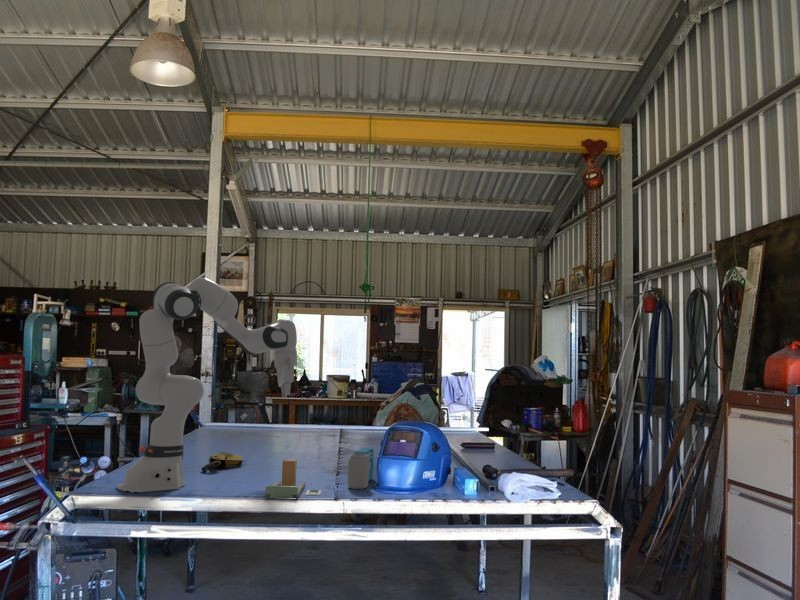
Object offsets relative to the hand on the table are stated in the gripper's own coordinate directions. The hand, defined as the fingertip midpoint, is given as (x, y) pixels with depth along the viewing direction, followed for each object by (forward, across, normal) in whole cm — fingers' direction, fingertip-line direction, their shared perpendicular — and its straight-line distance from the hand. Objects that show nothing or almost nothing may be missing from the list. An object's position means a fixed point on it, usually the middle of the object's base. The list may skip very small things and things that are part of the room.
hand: (286, 396), depth 258 cm
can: (+36, -16, -23) cm, 46 cm away
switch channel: (+35, -21, 0) cm, 41 cm away
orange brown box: (+34, -14, +1) cm, 37 cm away
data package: (+34, -2, -29) cm, 44 cm away
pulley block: (+26, +35, +23) cm, 49 cm away
